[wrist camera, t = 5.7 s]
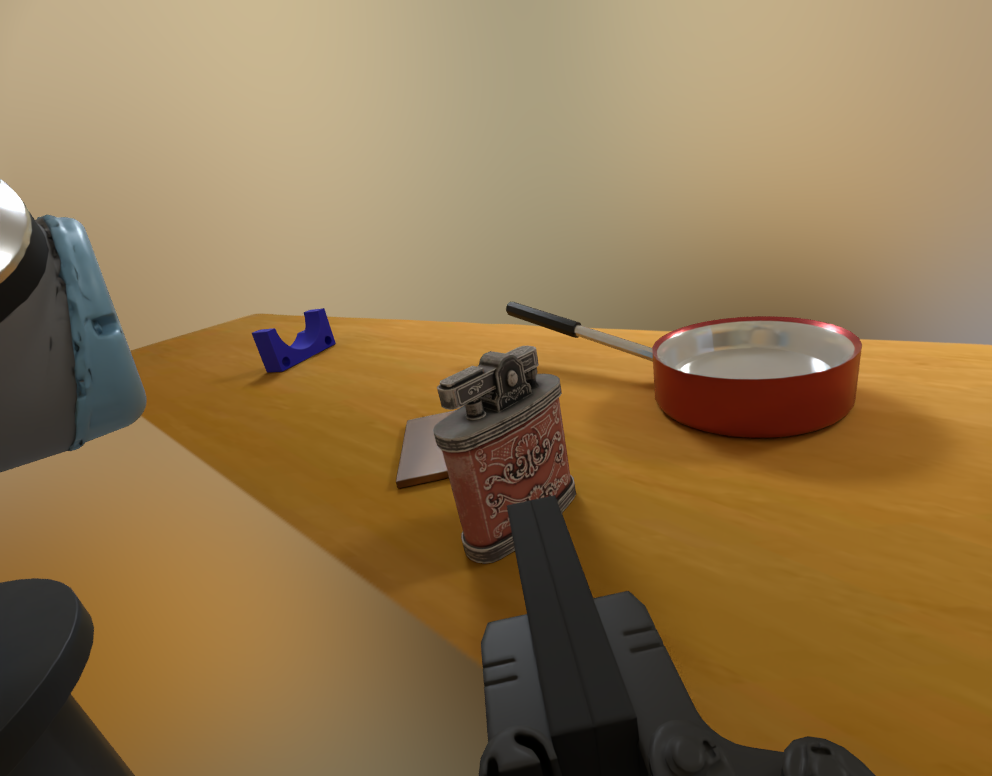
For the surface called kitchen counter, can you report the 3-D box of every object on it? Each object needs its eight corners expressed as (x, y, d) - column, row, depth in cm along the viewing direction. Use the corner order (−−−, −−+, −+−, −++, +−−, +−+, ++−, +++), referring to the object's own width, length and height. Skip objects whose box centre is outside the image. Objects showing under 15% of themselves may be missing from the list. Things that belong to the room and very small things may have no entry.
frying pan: (462, 384, 49) (448, 326, 46) (540, 343, 57) (532, 292, 54) (828, 461, 27) (839, 357, 24) (871, 376, 35) (882, 292, 32)
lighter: (547, 475, 31) (522, 329, 27) (589, 492, 28) (568, 334, 24) (451, 546, 26) (405, 381, 22) (491, 574, 23) (447, 394, 20)
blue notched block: (314, 345, 79) (302, 310, 76) (335, 343, 77) (324, 308, 75) (259, 372, 69) (244, 333, 66) (282, 371, 67) (266, 331, 65)
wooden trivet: (397, 488, 32) (395, 481, 32) (408, 426, 42) (407, 420, 41) (565, 453, 33) (564, 445, 32) (539, 398, 42) (538, 392, 42)
